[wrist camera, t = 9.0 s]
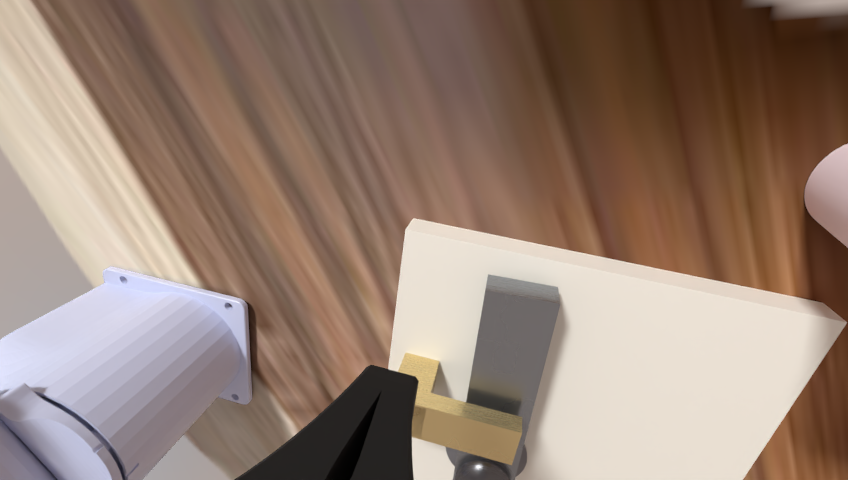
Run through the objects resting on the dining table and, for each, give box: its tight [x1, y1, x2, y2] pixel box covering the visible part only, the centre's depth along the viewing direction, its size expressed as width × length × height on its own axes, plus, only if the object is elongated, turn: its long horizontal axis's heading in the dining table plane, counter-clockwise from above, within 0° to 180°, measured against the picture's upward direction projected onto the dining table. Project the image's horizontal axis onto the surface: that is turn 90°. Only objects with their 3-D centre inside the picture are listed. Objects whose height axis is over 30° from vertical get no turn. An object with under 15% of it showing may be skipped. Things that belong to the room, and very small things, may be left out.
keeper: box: [398, 353, 522, 465], centre depth 20 cm, size 6×2×3 cm, turn 81°
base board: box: [388, 218, 847, 480], centre depth 22 cm, size 18×16×2 cm
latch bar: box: [453, 274, 560, 480], centre depth 20 cm, size 12×3×2 cm, turn 173°
